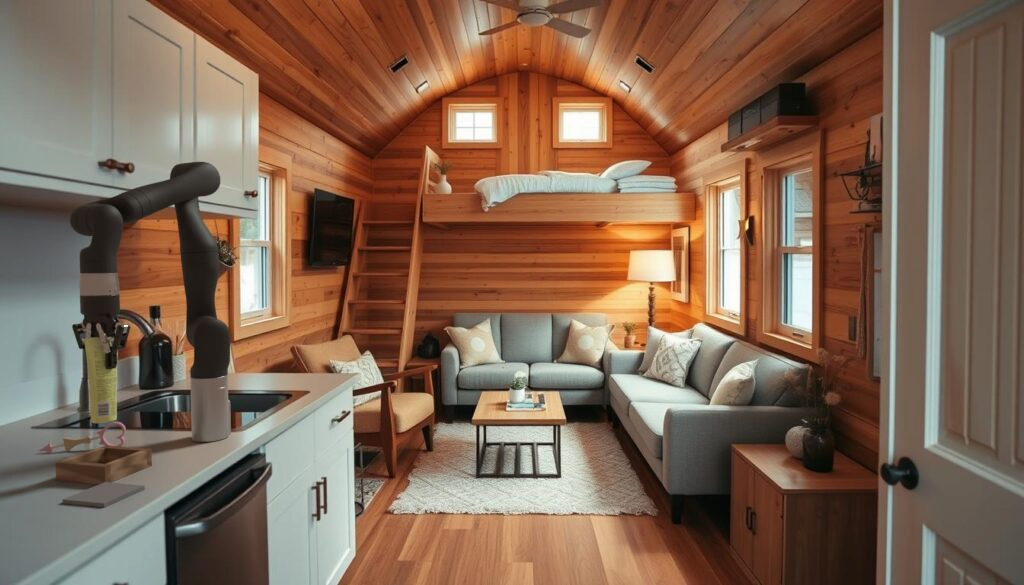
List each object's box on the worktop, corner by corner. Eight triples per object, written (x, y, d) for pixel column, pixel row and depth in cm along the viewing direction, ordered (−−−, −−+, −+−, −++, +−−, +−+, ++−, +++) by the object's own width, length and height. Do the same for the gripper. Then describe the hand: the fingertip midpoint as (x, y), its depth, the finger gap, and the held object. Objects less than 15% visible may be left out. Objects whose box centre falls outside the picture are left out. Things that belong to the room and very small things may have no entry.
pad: (105, 485, 133) (105, 482, 133) (144, 489, 131) (144, 485, 131) (62, 503, 123) (62, 499, 123) (104, 507, 121) (104, 503, 121)
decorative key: (41, 464, 157) (129, 444, 162) (39, 465, 155) (128, 445, 161) (35, 438, 156) (123, 419, 162) (33, 439, 155) (122, 420, 161)
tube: (97, 418, 143) (94, 335, 142) (121, 417, 144) (119, 334, 143) (86, 424, 137) (83, 338, 136) (112, 423, 139) (109, 337, 138)
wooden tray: (106, 461, 149) (105, 445, 149) (151, 465, 146) (151, 449, 146) (55, 480, 136) (55, 462, 136) (105, 484, 133) (104, 466, 133)
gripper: (58, 293, 137) (61, 370, 138) (112, 294, 134) (115, 372, 135) (88, 292, 144) (91, 364, 145) (139, 292, 141) (142, 366, 142)
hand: (102, 367), depth 140 cm, fingers closed on tube, 4 cm apart
